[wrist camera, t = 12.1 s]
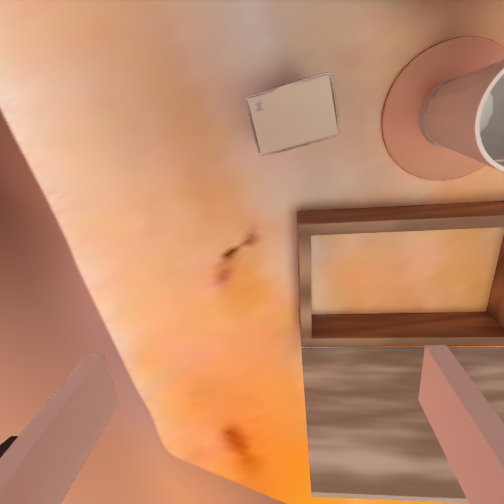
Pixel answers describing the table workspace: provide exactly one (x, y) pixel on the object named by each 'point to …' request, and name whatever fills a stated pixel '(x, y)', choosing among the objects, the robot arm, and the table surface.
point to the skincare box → (294, 114)
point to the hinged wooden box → (390, 368)
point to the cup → (468, 115)
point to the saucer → (412, 97)
